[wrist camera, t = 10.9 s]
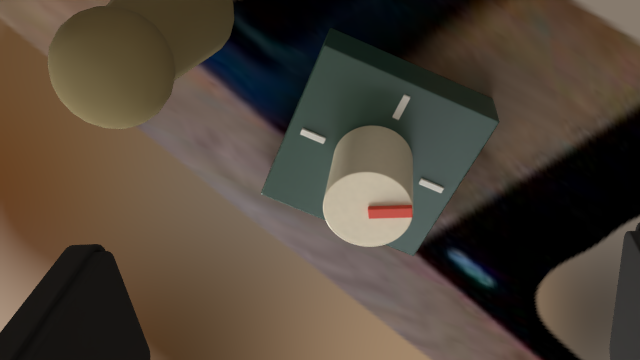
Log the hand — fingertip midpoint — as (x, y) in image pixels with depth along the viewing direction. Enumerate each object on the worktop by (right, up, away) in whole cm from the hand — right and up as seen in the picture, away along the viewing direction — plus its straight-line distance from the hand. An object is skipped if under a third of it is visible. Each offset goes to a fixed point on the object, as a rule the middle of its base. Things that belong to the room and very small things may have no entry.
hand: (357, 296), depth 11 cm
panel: (+3, +5, +25) cm, 26 cm away
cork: (-8, +12, +23) cm, 27 cm away
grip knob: (+2, +3, +23) cm, 23 cm away
